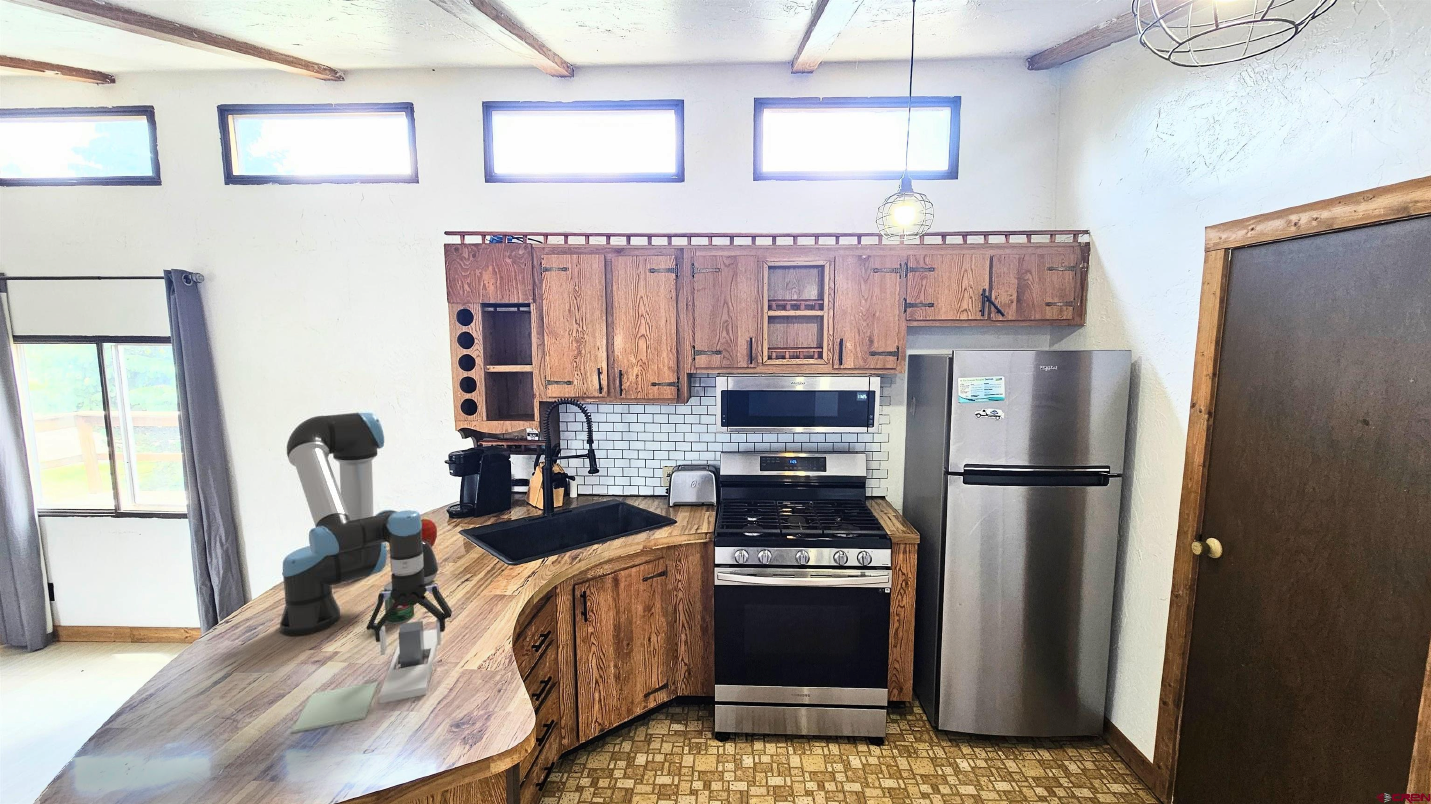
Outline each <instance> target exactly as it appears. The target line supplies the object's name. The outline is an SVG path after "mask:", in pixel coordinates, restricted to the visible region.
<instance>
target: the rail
mask: <svg viewBox="0 0 1431 804" xmlns="http://www.w3.org/2000/svg"><path fill="white" fill-rule="evenodd" d="M423 634H424V652H425V657H428V659H427V663H424V664H423V665H417V666H411V667H406V668H401V667H400V668H398V664H399V663H400V650H399V642H398V644H397V647H396V648H395V652H394V654H393V657H392V658H391V659H392V660H391V662H390V666H389V668H388V671H387V673H386V675H385V676H386V677H385V679H384V681H383V685H382V687H381V690H380V693H379V694H378V699H379V704H384V703H389V702H394V701H400V700H404V699H405V700H406V699H410V698H414V697H415V698H416V697H421V696H425V695H427V694H428V693H427V692H428V689H429V684H430V680H431V676H432V671H433V668H434V667H433V666H434V663H435V658H436V654H437V650H438V646H437V629H436V628H434V629H430V630H428V629H427V630H423Z"/></svg>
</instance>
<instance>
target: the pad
mask: <svg viewBox="0 0 1431 804" xmlns="http://www.w3.org/2000/svg"><path fill="white" fill-rule="evenodd" d="M378 685H379V681H375V682H374V681H373V682H370V683H363V684H362V683H361V684H358V685H353V686H346V687H342V688H341V687H340V688H337V689H332V690H331V689H330V690H324V691H320V692H315V693H311V696H310V697H309V699H308V701H307V702H306V705H305V707H304V708H303V710H302V711H301V714H300V715H299V718H298V719H297V721H296V723H295V725H294V726H293V728H292V729H291V734H293V733H300V732H306V731H310V730H314V729H319V728H325V727H330V726H334V725H340V724H345V723H350V722H354V721H360V720H365V719H366V717H367V714H368V712H369V708H370V707H371V704H372V702H373V699H374V696H375V693H376V691H377V688H378Z"/></svg>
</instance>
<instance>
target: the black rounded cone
mask: <svg viewBox="0 0 1431 804" xmlns="http://www.w3.org/2000/svg"><path fill="white" fill-rule="evenodd" d="M430 541H431V539H428V540H427V541H426V542H425V541H422V549H423V565H424V566H423V569H424V583H425V585H427V584H429V583H432V582H433V581H434V580H435V578H436V577H437V575H438V571H439V565H438V561H437V557H436V555H435V552H434V550H433V547H431V546H430V545H429V543H430Z"/></svg>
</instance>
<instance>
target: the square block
mask: <svg viewBox="0 0 1431 804" xmlns="http://www.w3.org/2000/svg"><path fill="white" fill-rule="evenodd" d="M423 631H424V621H423V620H420V621H419V620H418V621H412V622H404V623H401V625H400V627H399V631H398V643H399V650H400V661H399V663H400V668H406V667H411V666H417V665H423V664H425V659H426V656H425V652H424V634H423Z"/></svg>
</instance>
